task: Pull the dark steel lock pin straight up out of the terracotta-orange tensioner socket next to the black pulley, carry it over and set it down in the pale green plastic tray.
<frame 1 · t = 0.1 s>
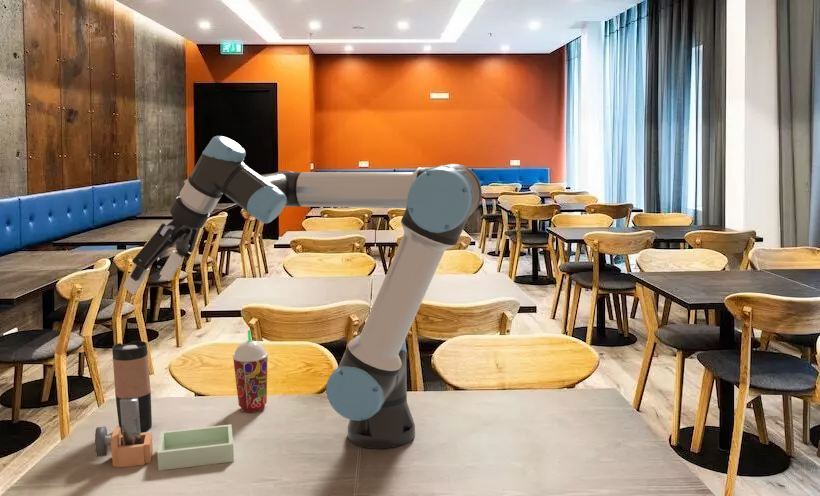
hand: (147, 283, 164), 36 cm above the table, tool tilted 35°, fingers open, 13 cm apart
lock pin: (133, 458, 161), resting in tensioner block
travel mug: (135, 429, 177), on the table
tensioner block: (133, 458, 161), on the table
tray: (197, 454, 162), on the table
smoothie: (253, 409, 188), on the table
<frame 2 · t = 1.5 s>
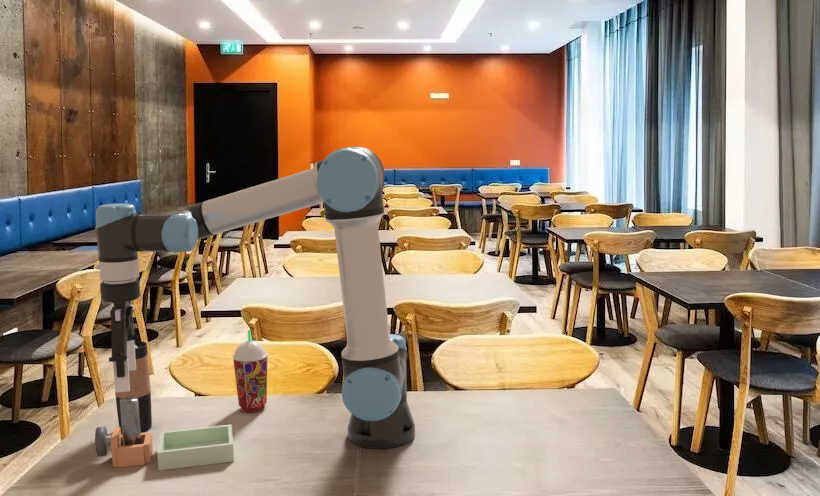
hand: (126, 380, 158), 17 cm above the table, tool pointing down, fingers open, 13 cm apart
nothing on the table moved.
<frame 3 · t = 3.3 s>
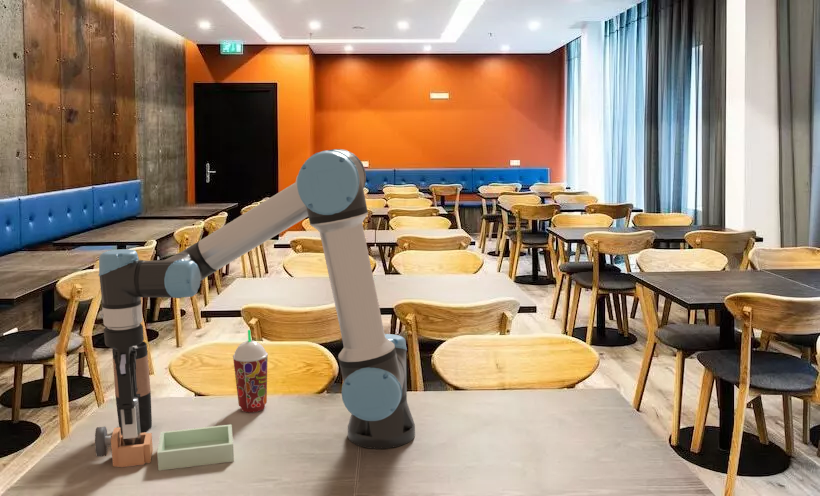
hand: (131, 433, 160), 6 cm above the table, tool pointing down, fingers closed on lock pin, 4 cm apart
lock pin: (133, 458, 161), resting in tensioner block, touching gripper
everything else where it was.
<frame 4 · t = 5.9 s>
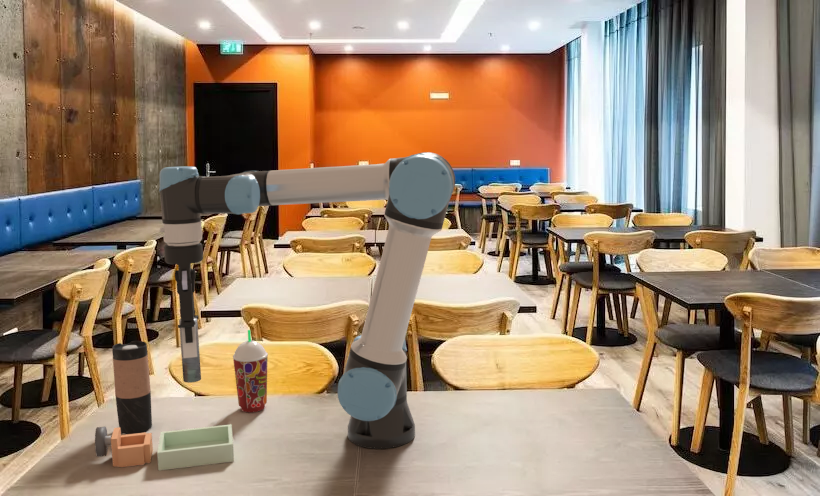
hand: (190, 353, 158), 22 cm above the table, tool pointing down, fingers closed on lock pin, 4 cm apart
lock pin: (192, 379, 159), point 17 cm above the table, touching gripper
everything else where it was.
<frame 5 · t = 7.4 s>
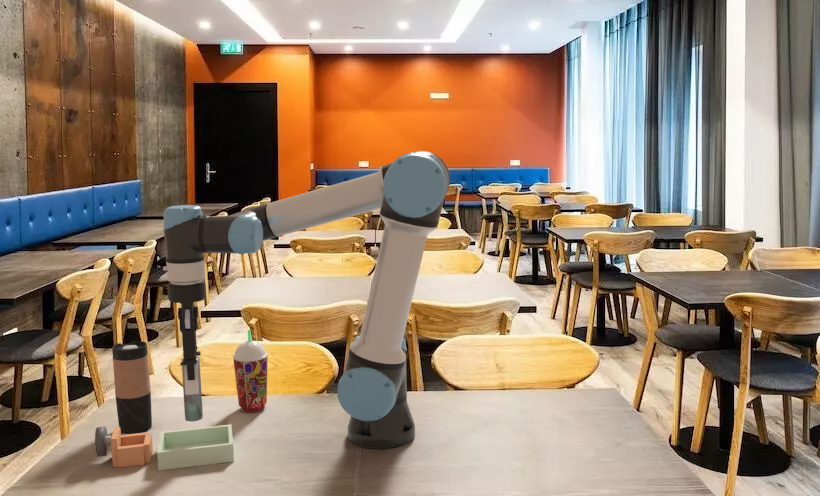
hand: (192, 390, 160), 14 cm above the table, tool pointing down, fingers closed on lock pin, 3 cm apart
lock pin: (193, 418, 161), point 8 cm above the table, touching gripper
everything else where it was.
when the fingers open (8 cm above the table, at t = 8.8 s): lock pin stays where it is, resting on tray.
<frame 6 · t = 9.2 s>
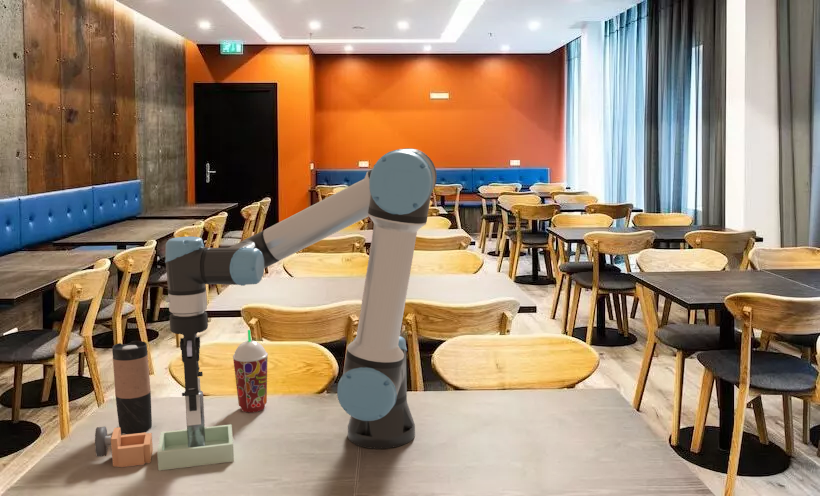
hand: (194, 415, 161), 9 cm above the table, tool pointing down, fingers open, 9 cm apart
lock pin: (197, 451, 162), point 1 cm above the table, touching tray
everything else where it was.
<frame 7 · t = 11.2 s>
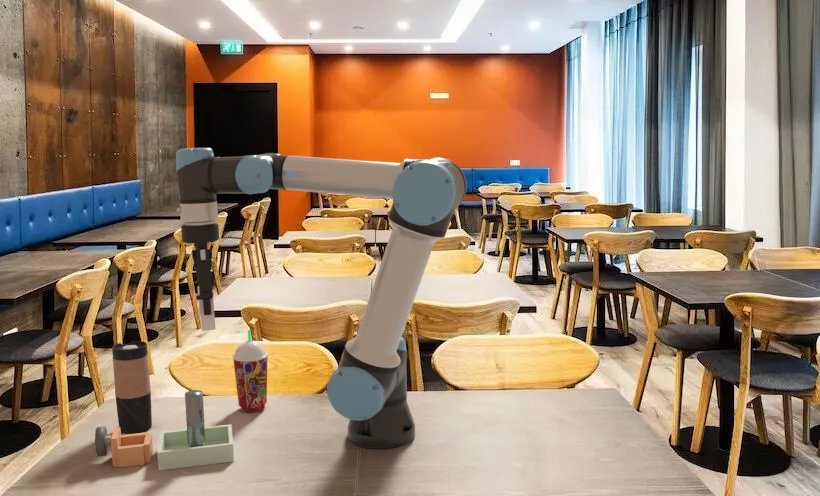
hand: (207, 322, 161), 28 cm above the table, tool pointing down, fingers open, 13 cm apart
nothing on the table moved.
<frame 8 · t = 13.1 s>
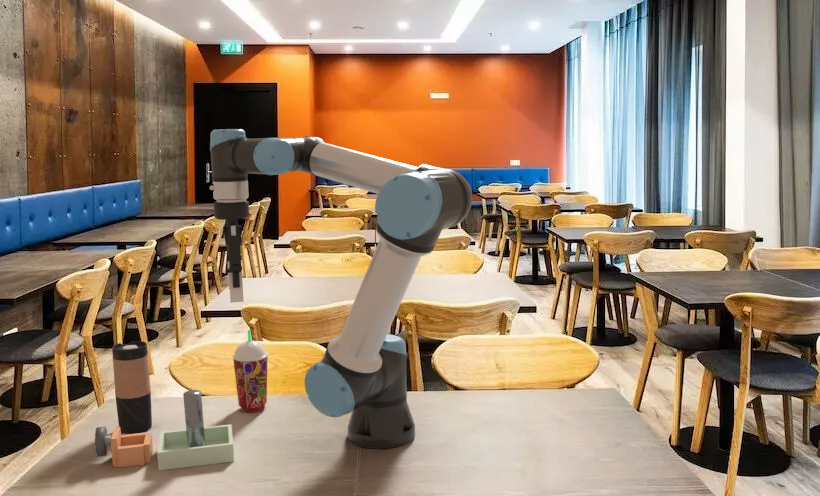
hand: (235, 295, 170), 32 cm above the table, tool pointing down, fingers open, 13 cm apart
nothing on the table moved.
at the end: lock pin inside the target area on the tray (0.0 cm from its centre), point 0.8 cm above the tray's base; the gripper is holding nothing; lock pin moved 13.2 cm from its start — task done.
